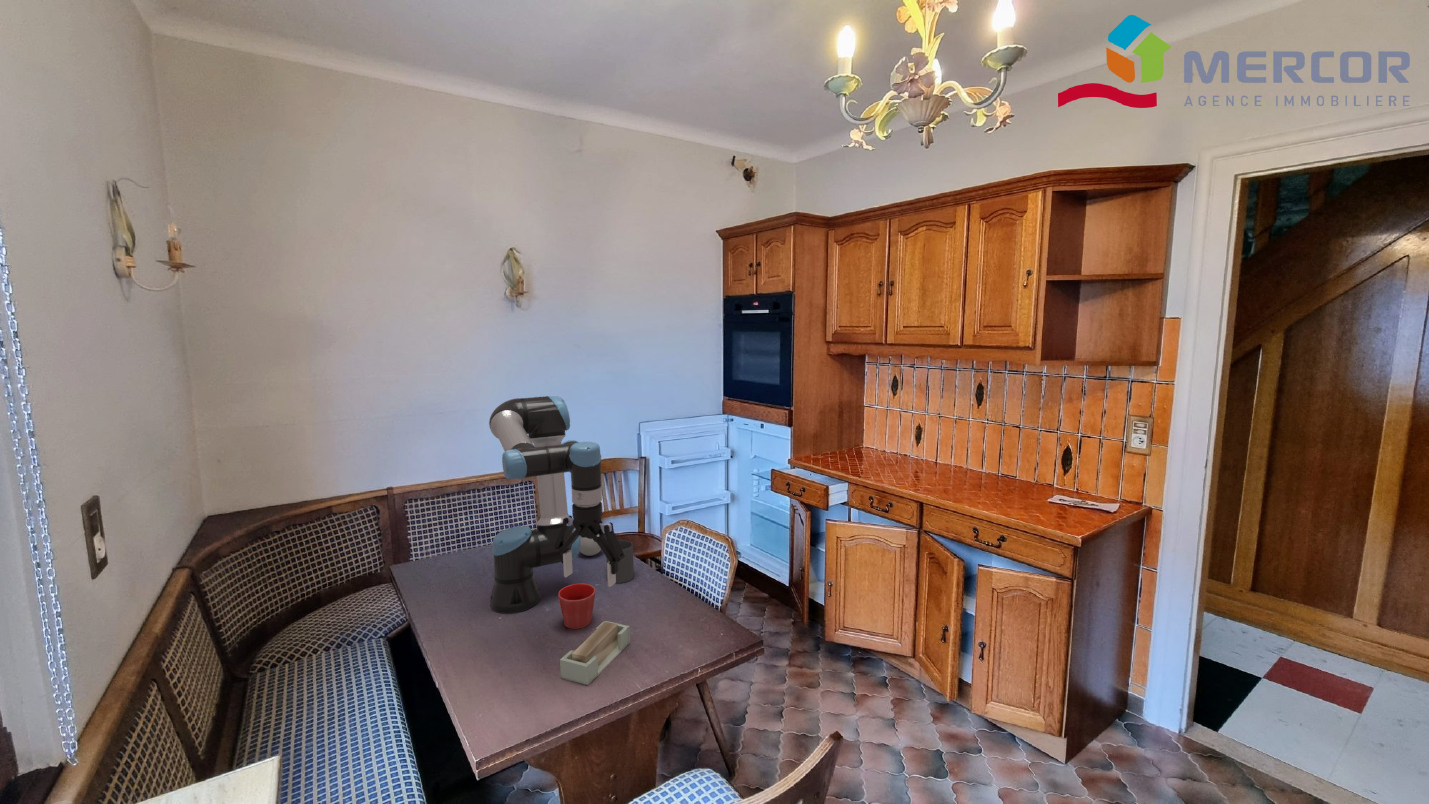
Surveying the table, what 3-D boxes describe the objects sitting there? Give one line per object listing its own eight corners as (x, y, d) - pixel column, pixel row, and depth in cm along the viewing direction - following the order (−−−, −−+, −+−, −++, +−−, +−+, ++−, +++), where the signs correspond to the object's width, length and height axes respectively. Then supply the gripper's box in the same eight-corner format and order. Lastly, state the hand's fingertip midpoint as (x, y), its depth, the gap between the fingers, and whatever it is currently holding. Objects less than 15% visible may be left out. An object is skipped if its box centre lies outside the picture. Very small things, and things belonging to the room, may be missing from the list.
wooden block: (573, 675, 144) (572, 653, 143) (605, 641, 159) (604, 621, 158) (587, 678, 143) (586, 656, 142) (618, 644, 157) (617, 624, 157)
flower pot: (603, 616, 173) (602, 585, 172) (583, 634, 163) (582, 602, 162) (573, 610, 177) (571, 580, 176) (552, 628, 167) (550, 597, 165)
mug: (639, 577, 199) (638, 544, 197) (616, 586, 193) (615, 552, 191) (617, 565, 209) (616, 534, 207) (595, 573, 203) (593, 541, 201)
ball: (609, 551, 221) (608, 527, 220) (594, 561, 212) (592, 536, 211) (588, 547, 225) (587, 523, 224) (572, 557, 216) (570, 532, 215)
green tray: (560, 678, 144) (560, 659, 143) (605, 637, 162) (604, 620, 161) (587, 685, 141) (587, 666, 140) (629, 643, 159) (629, 626, 158)
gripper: (538, 500, 149) (541, 577, 152) (621, 514, 139) (623, 595, 143) (556, 492, 156) (559, 565, 159) (636, 504, 146) (638, 582, 150)
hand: (589, 579), depth 151 cm, fingers open, 13 cm apart
